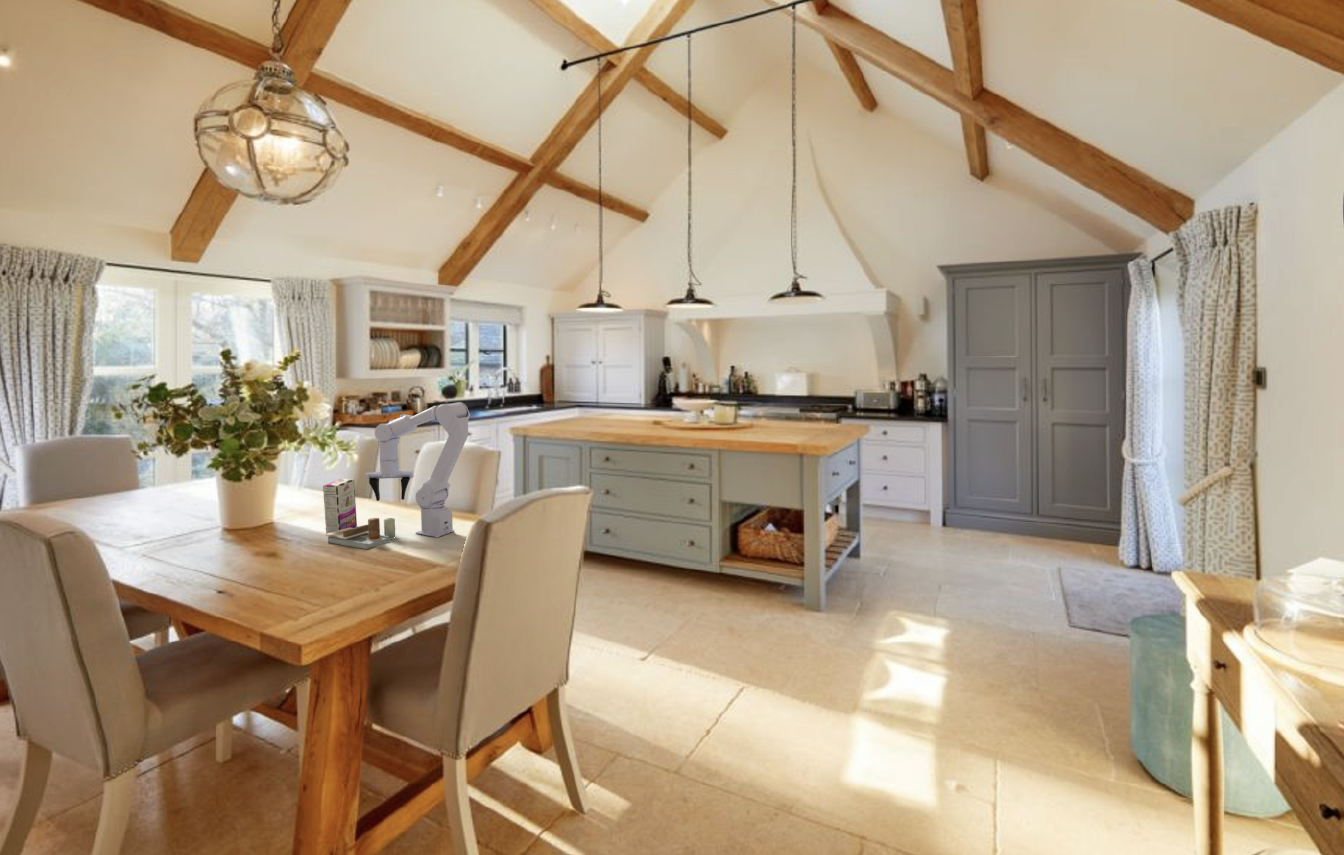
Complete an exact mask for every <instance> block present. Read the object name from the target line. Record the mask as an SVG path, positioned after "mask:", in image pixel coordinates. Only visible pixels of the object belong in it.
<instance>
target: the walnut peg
mask: <svg viewBox="0 0 1344 855" xmlns="http://www.w3.org/2000/svg"><path fill="white" fill-rule="evenodd" d="M367 525H368V533H369V539H371V540H373V539H379V538H380V535H381V531H380V530H381V529H380V528H381V527H380V526H381V525H380V517H370V518H368V519H367Z"/></svg>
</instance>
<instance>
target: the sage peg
mask: <svg viewBox="0 0 1344 855" xmlns="http://www.w3.org/2000/svg"><path fill="white" fill-rule="evenodd" d="M383 530H384V532H383V535H384V536H389V540H391V539H390V538H393V539H395V538H396V519H395V518H393V517H387V518H384V519H383ZM394 537H395V538H394Z"/></svg>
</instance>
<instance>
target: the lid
mask: <svg viewBox="0 0 1344 855" xmlns="http://www.w3.org/2000/svg"><path fill="white" fill-rule="evenodd" d="M365 533H369V532H368V524H363V525H359V526H355V527H354V528H351V527H349V528H345V529H342V530H338V531H335V532H331V533H328V534H325V537H336V538H342V539H348V538H351V537H355V536H358V535H362V534H365Z"/></svg>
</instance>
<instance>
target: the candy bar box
mask: <svg viewBox="0 0 1344 855" xmlns="http://www.w3.org/2000/svg"><path fill="white" fill-rule="evenodd" d="M322 488H323V490H322V491H323V503H324V504H323V505H324V506H323V507H324V520H325V522H324V523H325V533H326V534H328V533H331V532H335V531H338V530H342V529H345V528H349V527H351V528H356V527H358V522H357V507H356V506H357V505H356V504H357V503H356V487H355V479H354V478H340V479H337V480H335V481H332V482H329V483H327V484H324V485H322ZM326 534H325V535H326Z"/></svg>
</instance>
